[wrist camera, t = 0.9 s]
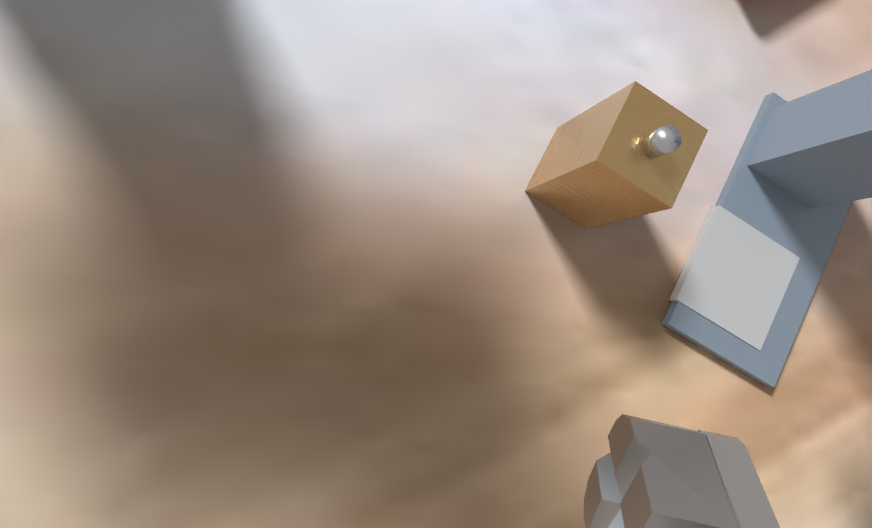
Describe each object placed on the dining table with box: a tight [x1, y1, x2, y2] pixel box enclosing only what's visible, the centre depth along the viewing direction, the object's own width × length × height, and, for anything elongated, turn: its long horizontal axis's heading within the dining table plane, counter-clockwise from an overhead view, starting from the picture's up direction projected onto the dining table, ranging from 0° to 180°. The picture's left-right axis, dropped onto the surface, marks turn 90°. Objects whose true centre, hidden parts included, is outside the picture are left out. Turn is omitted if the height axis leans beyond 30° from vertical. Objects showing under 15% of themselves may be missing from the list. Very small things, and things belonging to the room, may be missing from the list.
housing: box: [525, 81, 708, 229], centre depth 41 cm, size 5×5×12 cm
